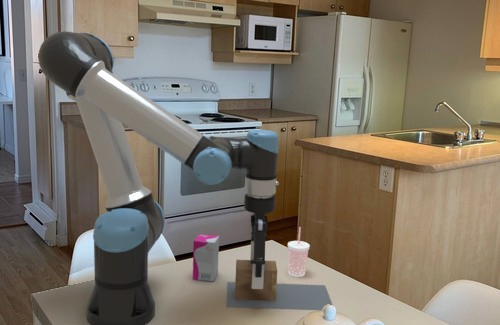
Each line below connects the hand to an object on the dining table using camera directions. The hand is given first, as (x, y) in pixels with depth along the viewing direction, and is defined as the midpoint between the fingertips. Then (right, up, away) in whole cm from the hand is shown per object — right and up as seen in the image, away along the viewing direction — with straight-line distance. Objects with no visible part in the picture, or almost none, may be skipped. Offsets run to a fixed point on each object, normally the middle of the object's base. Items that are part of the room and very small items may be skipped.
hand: (256, 276), depth 130 cm
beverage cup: (+11, -3, +15) cm, 20 cm away
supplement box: (-14, -3, +11) cm, 17 cm away
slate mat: (+6, -6, +1) cm, 8 cm away
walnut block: (0, -5, +1) cm, 5 cm away
